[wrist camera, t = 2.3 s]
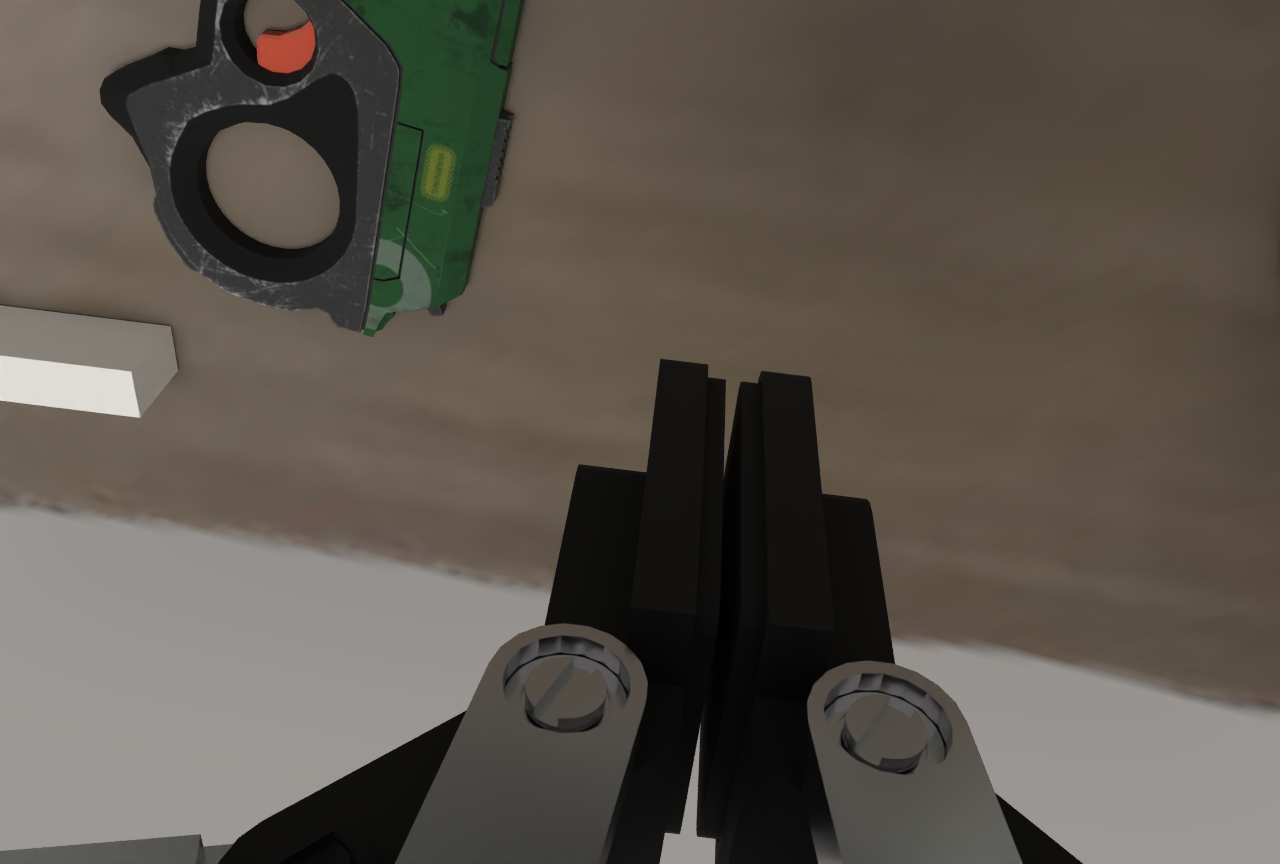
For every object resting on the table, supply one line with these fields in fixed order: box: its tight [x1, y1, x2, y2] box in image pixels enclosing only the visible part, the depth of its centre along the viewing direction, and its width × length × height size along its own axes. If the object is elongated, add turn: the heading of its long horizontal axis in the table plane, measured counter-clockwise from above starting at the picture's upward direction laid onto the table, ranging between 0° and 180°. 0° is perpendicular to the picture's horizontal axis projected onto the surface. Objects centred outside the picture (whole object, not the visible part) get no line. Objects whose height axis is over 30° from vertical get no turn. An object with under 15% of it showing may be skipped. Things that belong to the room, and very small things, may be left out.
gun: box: [100, 0, 523, 337], centre depth 26 cm, size 16×1×10 cm
